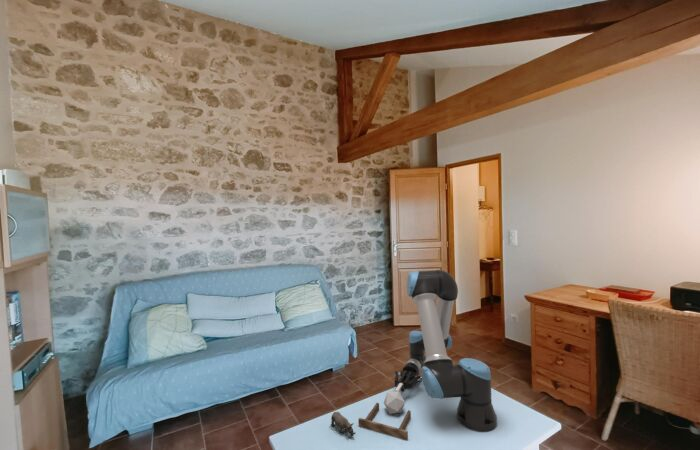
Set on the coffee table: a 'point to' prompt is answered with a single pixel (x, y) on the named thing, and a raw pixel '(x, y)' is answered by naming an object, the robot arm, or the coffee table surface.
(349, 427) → the rhino figurine
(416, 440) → the coffee table surface
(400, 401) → the die
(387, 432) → the frame
